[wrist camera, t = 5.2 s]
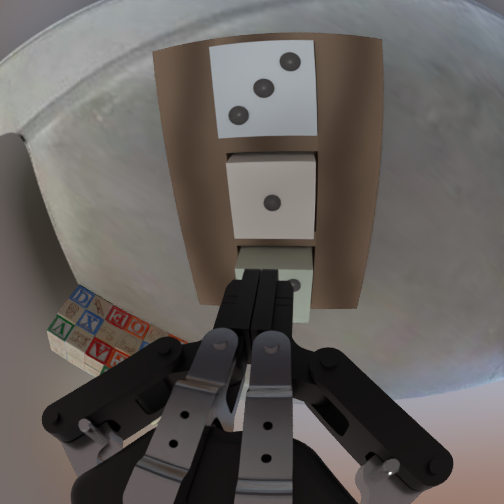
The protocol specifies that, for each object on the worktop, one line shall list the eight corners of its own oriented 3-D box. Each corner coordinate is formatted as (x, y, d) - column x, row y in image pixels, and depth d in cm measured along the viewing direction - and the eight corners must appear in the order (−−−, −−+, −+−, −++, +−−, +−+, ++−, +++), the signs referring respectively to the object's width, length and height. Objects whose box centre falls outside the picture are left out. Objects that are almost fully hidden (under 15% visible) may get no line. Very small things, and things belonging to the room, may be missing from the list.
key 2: (311, 246, 24) (313, 271, 21) (308, 298, 27) (308, 324, 24) (241, 245, 25) (234, 270, 22) (247, 296, 28) (241, 322, 25)
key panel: (370, 43, 16) (381, 39, 13) (352, 288, 29) (356, 308, 27) (168, 53, 18) (152, 51, 16) (206, 285, 32) (199, 304, 29)
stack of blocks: (78, 306, 39) (40, 365, 29) (79, 282, 35) (34, 345, 25) (195, 367, 43) (175, 435, 33) (209, 351, 39) (188, 427, 29)
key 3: (309, 46, 15) (313, 39, 12) (313, 127, 18) (317, 136, 16) (221, 51, 16) (208, 46, 13) (229, 129, 19) (217, 139, 16)
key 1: (312, 150, 20) (316, 162, 18) (311, 219, 24) (313, 240, 21) (234, 151, 21) (225, 164, 18) (241, 219, 25) (234, 240, 22)
